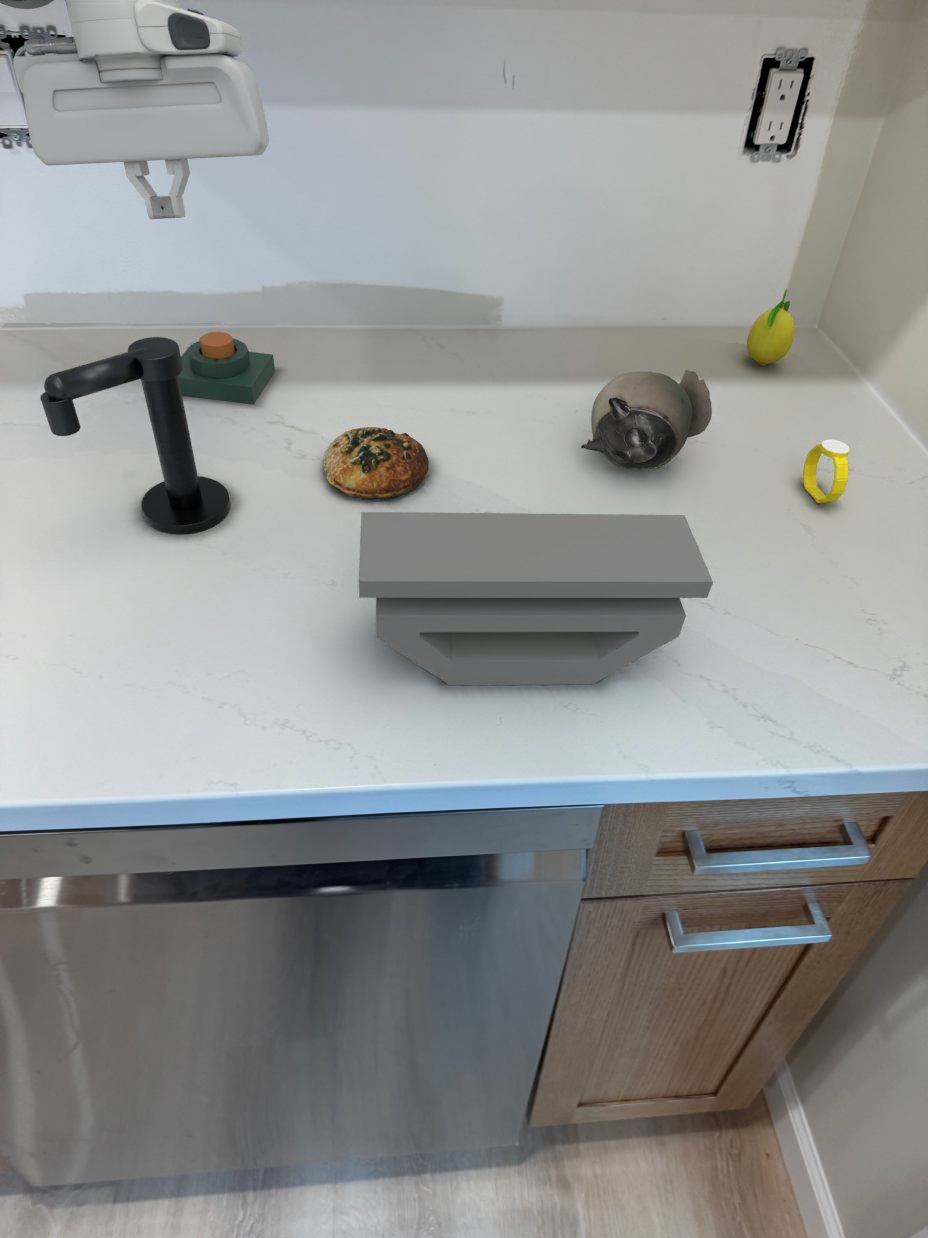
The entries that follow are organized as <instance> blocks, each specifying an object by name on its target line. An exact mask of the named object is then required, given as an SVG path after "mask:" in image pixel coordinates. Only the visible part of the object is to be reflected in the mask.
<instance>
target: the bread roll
mask: <svg viewBox="0 0 928 1238" xmlns="http://www.w3.org/2000/svg"><path fill="white" fill-rule="evenodd" d="M429 461H430V460H429V457H428V454H427V453H426V449H425V448H424V447H423V444H421V442H419V441H417V440H416V439H415V438H413V437H411V436H410V434H408V433H406V432H403V433H396V432H395V431H394V430H392V429H388V428H385V427H378V426H377V427H374V426H367V427H366V426H365V427H358V428H352V429H348V430H347V431H346V430H345V431H344V432H343V433H341V434H339V435H338V436H337V437H335V438H334V439H333V440H332V442H331V443H330V444H329V446H328V447H327V449H326V451H325V454H324V458H323V461H322V463H323V469H324V472H325V473H326V480H327V481H328V483H329V484H331V485H332V486H333V487H335V488H337V489H338V490H339V491H341V492H342V493H343V494H344V495H346V496H348V497H353V498H358V499H362V500H364V499H367V500H368V499H375V498H377V499H378V498H379V499H386V498H389V499H391V498H395V497H398V496H401V495H403V494H407V493H409V492H411V491H412V490H414V489H415V488H416V487H418V486H419V485H420V484H421V483H422V481H423V480H424V479H425V477H426V475H427V474H428V471H429V465H430V463H429Z"/></svg>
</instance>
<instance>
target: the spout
mask: <svg viewBox="0 0 928 1238" xmlns="http://www.w3.org/2000/svg"><path fill="white" fill-rule="evenodd" d="M181 356H182V355H181V349H180V345H179V344H178V342H177V341H175V340H173V339H171V338H168V337H162V336H153V337H144V338H141V339H138V340H136V341H134V342H132V343H130V344H129V346H128V348H127V351H126V352H123V353H119V354H116V355H112V356H109V357H106V358H103V359H99V360H95V361H92V362H89V363H85V364H82V365H78V366H75V367H71V368H68V369H63V370H61V371H57V372H54V373H51V374H49V375H48V376H46V379H45V380H44V383H43V389H44V392H43V393H42V394H41V395H40V397H39V398H40V402H41V406H42V408H43V411H44V414H45V417H46V420H47V423H48V426H49V430H50V432H51V433H52V434H53V435H55V436H56V437H68V436H69V437H70V436H72V435H75V434H77V433H78V432H79V431H80V430H81V423H80V420H79V417H78V414H77V410H76V407H75V403H74V400H76V399H79V398H83V397H86V396H90V395H92V394H96V393H99V392H102V391H105V390H109V389H112V388H115V387H118V386H122V385H125V384H129V383H131V382H135V381H138V380H140V381H141V380H144V381H151V382H158V381H165V380H169V379H172V378H175V377H177V376H178V375H179V374H180V373H181V372H182V370H183V365H182V360H181Z"/></svg>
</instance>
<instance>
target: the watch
mask: <svg viewBox="0 0 928 1238" xmlns="http://www.w3.org/2000/svg"><path fill="white" fill-rule="evenodd" d="M850 451H851V449H850V446H849V445H848V444H847V443H845V442H843V441H841V440H838V439H824V440H822V442H821V443H820V444H819V443H818V444H816V445H814V446H813V448H811V449H810V451H808V453H807V455H806V458H805V460H804V463H803V469H802V481H803V487H804V489H805V490H806V492H807V493H808V494H809V495H810V496H811V497H812V499H814V501H815V503H817V504H830V503H834V502H836V501H838V500H839V498H840V497H841V496H842V495H843V494H844V492H845V490H846V487H847V484H848V481H849V468H850V467H849V462H848V459H847V457H848V456H849V455H850ZM822 455H824V456H826V457H828V458H830V459H832V461H833V465H834V474H833V477H834V478H833V482H832V485H831V489H830V491H829V492H828V493H827V495H825V493H824V492H823V491H822V490H821V489H820V488H819V486H818V480H817V469H818V463H819V461H820V458H821V457H822Z"/></svg>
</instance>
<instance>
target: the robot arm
mask: <svg viewBox="0 0 928 1238" xmlns="http://www.w3.org/2000/svg"><path fill="white" fill-rule="evenodd" d="M54 1H55V0H0V4H2V5H4V6H6V7H10V8H13V9H19V10H34V9H40V8H43V7H45V6H48V5H49V4H51V3H53V2H54ZM64 1H65V2H64V3H65V6H66V10H67V14H68V19H69V23H70V27H71V32H72V36H64V37H63V36H62V37H56V38H49V39H41V38H32V39H27V40H25V41H24V44H23V45H22V46H20V47H19V48H18V49H17V50H16V52H15V54H14V56H13V57H14V58H13V60H12V64H13V70H14V75H15V77H16V82H17V85H18V88H19V90H20V92H21V94H22V95H23V103H24V104H23V105H24V111H25V118H26V125H27V131H28V134H29V135H28V136H29V139H30V144H31V148H32V152H33V153H34V155H35V156H36V158H38V159H39V160H40V161H41V163H43V164H44V165H45V166H48V167H49V166H69V165H70V166H71V165H89V164H90V165H91V164H109V163H111V164H112V163H113V164H114V163H123V166H124V170H125V175H126V178H127V180H128V181H129V182H130V183H131V184H132V186H134V188H135V190H136V191H137V192H138V193H139V195H140V196H141V198H143V199H144V203H145V207H146V212H147V217H148V218H149V220H160V219H161V220H162V219H163V220H164V219H182V218H185V217H186V209H185V204H184V199H183V195H184V193H185V190H186V187H187V184H188V181H189V179H190V175H191V171H190V165H189V161H188V160H194V159H195V160H196V159H211V158H212V159H213V158H232V157H233V158H234V157H252V156H253V157H254V156H255V157H256V156H261V155H263V154H264V153H265V152H266V150H267V148H268V146H269V143H270V136H269V130H268V125H267V118H266V114H265V110H264V105H263V102H262V101H263V100H262V98H261V97H262V96H261V94H260V90H259V86H258V83H257V81H256V78H255V76H254V74H253V71H252V70H251V68H250V67H249V66H248V65H247V64H246V63H245V62H244V61H242V60H240V59H239V58H238V57H239V56H240V55H241V54H242V51H243V42H242V37H241V34H240V32H239V30H238V29H237V28H236V27H234V26H232V24H230V23H227V22H225V21H222V20H220V19H216V18H213V17H211V16H207V15H205V14H204V13H203V12H200V11H199V10H196V9H191V8H187V9H184V8H182V5H181V4H180V0H64ZM25 53H26V54H27V55H24V54H25ZM153 161H164V164H165V168H166V172H167V174H168V175H169V176H170V175H172V176H173V178H172V183H171V186H170V190H169V194H168V195H158V194H157V192H156V191H155V189H154V188H153V187H152V185H151V184H150V182H149V181H148V180H147V178H146V176H149V175H150V168H149V163H148V162H153Z"/></svg>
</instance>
